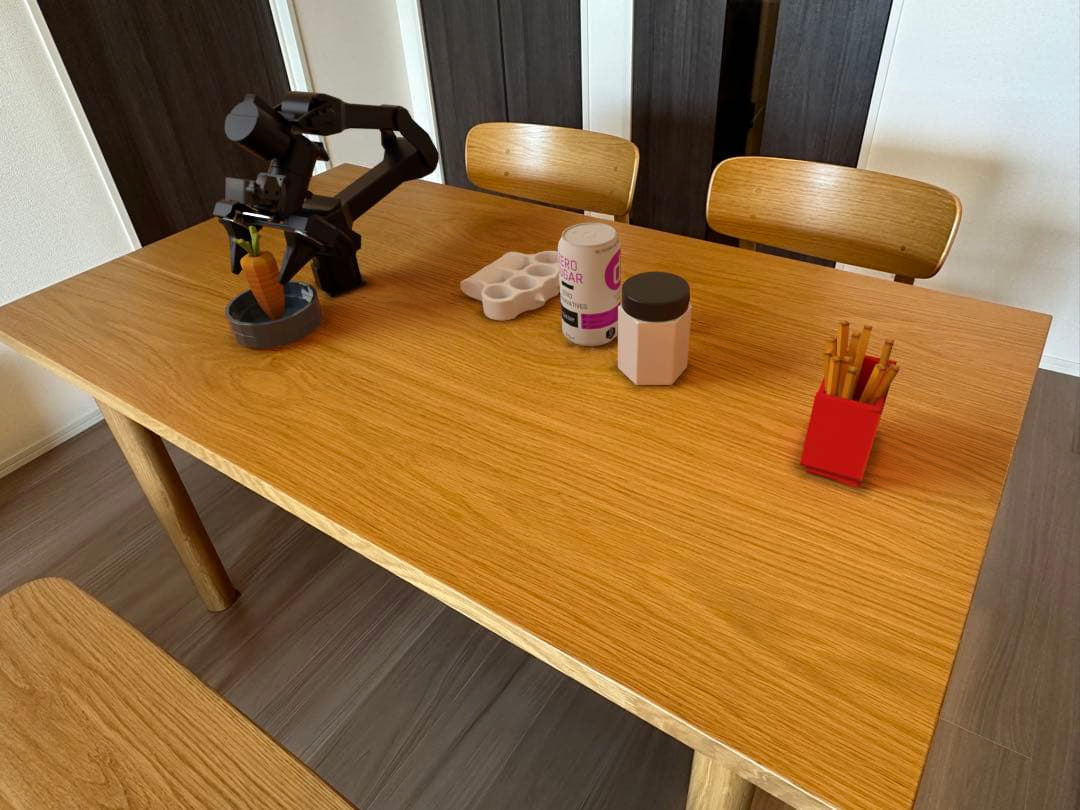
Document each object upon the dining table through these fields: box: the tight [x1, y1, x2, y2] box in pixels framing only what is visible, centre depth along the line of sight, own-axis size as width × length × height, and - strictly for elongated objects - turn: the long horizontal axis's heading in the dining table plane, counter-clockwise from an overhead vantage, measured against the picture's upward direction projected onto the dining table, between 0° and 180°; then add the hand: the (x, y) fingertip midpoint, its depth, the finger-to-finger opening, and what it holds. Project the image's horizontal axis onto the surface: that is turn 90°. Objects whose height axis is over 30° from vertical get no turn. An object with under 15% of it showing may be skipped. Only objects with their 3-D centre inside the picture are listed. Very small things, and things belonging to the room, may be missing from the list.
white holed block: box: [459, 250, 560, 322], centre depth 108 cm, size 3×18×15 cm
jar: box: [617, 270, 693, 386], centre depth 87 cm, size 9×8×12 cm
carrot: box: [233, 226, 285, 321], centre depth 101 cm, size 5×5×15 cm
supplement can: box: [557, 222, 622, 347], centre depth 94 cm, size 8×8×15 cm
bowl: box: [224, 279, 325, 349], centre depth 104 cm, size 13×13×4 cm
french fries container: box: [799, 320, 901, 489], centre depth 72 cm, size 7×9×14 cm
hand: (257, 279), depth 99 cm, fingers open, 9 cm apart
